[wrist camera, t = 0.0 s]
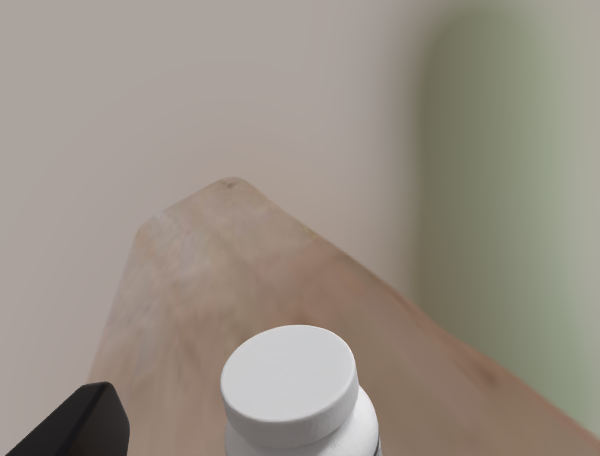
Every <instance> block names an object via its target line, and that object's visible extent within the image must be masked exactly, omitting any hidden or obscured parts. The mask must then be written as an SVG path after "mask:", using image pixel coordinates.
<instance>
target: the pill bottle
mask: <svg viewBox="0 0 600 456" xmlns="http://www.w3.org/2000/svg"><path fill="white" fill-rule="evenodd" d="M220 391H221V395H222V399H223V402H224V406H225V410H226V415H227V417H228V421H227V425H226V430H225V452H226V456H382V451H381V442H380V435H379V426H378V422H377V417H376V413H375V410H374V407H373V405H372V403H371V401H370V399H369V397H368V396H367V394H366V393H365V392H364V390H363V389H362V388H361V387H360V386H359V383H358V377H357V371H356V365H355V360H354V357H353V354H352V352H351V350H350V348H349V347H348V345H347V344H346V343H345V342H344V341H343V340H342V339H341V338H340V337H339V336H337V335H336V334H334V333H332V332H330V331H328V330H326V329H323V328H319V327H314V326H309V325H290V326H283V327H278V328H274V329H270V330H267V331H265V332H262V333H260V334H258V335H256V336H254V337H252V338H250V339H249V340H247V341H246V342H244V343H243V344H242V345H241V346H239V347H238V348H237V349H236V350H235V351H234V352H233V353H232V355H231V356H230V357H229V359H228V360H227V362H226V363H225V365H224V368H223V370H222V374H221V378H220Z"/></svg>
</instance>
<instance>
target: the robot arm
mask: <svg viewBox="0 0 600 456" xmlns="http://www.w3.org/2000/svg"><path fill="white" fill-rule="evenodd" d="M129 435H130V426H129V420H128V417H127V415H126V413H125V410H124V408H123V406H122V404H121V401H120V399H119V397H118V395H117V392H116V390H115V388H114V386H113V385H112V384H111V383H109V382H98V383H92V384H86V385H83V386H81V387H80V388H79V389H77V390H76V391H75V392H74V393H73V394H72V395H71V396H70V397H69V398H68V399H66V400H65V401H64V402H63V403H62V404H61V405H60V406H59V407H58V408H57V409H55V410H54V411H53V412H52V413H51V414H50V415H49V416H48V417H47V418H46V419H45V420H43V421H42V422H41V423H40V424H39V425H38V426H37V427H36V428H35V429H34V430H33V431H31V432H30V433H29V434H28V435H27V436H26V437H25V438H24V439H23V440H22V441H21V442H20V443H18V444H17V445H16V446H15V447H14V448H13V449H12V450H11V451H10V452H9V453H7V454H6V455H5V456H127V450H128V443H129Z"/></svg>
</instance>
